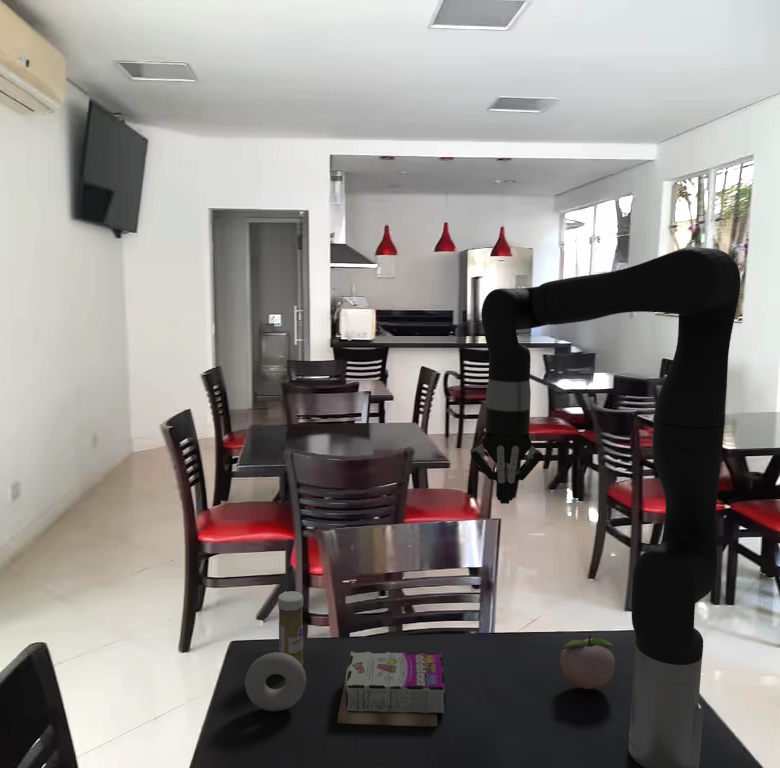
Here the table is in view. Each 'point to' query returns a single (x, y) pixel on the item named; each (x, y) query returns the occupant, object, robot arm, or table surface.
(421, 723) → the oak mat
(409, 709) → the candy bar box
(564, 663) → the decorative fruit
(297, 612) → the sprinkles bottle
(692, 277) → the robot arm
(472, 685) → the table surface
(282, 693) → the donut
